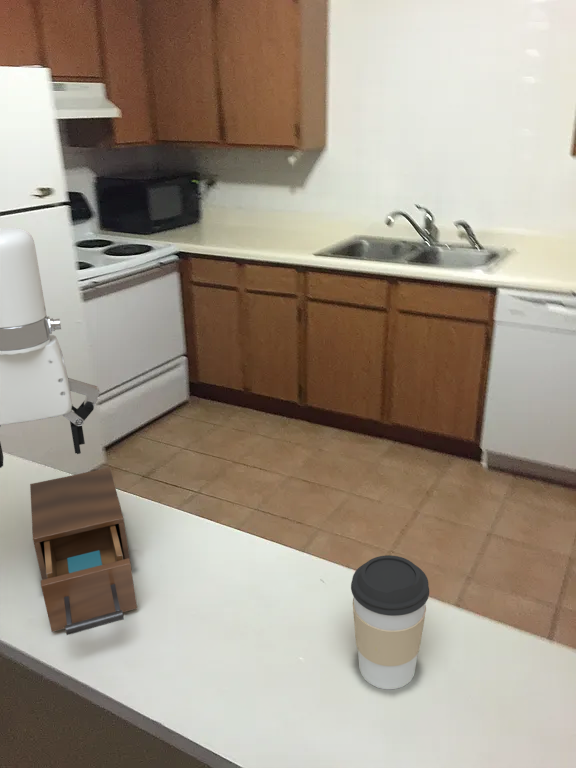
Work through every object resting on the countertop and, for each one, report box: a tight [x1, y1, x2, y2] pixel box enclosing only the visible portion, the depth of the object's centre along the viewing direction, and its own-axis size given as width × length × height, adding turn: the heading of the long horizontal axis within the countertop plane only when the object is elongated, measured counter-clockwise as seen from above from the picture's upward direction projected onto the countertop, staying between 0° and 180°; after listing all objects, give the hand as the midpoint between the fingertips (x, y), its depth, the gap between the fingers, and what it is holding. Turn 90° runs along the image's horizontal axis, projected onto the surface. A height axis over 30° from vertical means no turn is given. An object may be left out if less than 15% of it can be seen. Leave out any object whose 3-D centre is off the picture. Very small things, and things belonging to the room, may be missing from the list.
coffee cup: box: [350, 554, 430, 690], centre depth 80 cm, size 9×9×15 cm
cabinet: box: [29, 467, 133, 580], centre depth 104 cm, size 16×13×10 cm
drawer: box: [40, 525, 138, 636], centre depth 93 cm, size 21×11×8 cm, turn 21°
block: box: [67, 550, 102, 573], centre depth 94 cm, size 4×4×4 cm
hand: (39, 456), depth 88 cm, fingers open, 9 cm apart
